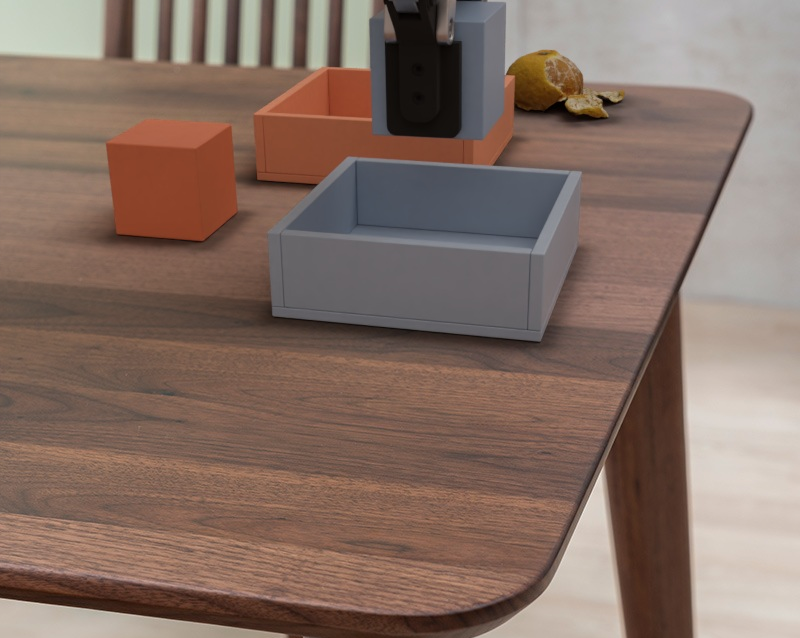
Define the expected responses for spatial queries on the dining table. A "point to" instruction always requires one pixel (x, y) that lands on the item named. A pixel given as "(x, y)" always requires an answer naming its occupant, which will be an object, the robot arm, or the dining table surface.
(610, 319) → the dining table surface
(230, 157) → the terracotta block
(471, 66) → the slate block
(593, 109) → the fruit
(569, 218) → the slate bin
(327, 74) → the terracotta bin
